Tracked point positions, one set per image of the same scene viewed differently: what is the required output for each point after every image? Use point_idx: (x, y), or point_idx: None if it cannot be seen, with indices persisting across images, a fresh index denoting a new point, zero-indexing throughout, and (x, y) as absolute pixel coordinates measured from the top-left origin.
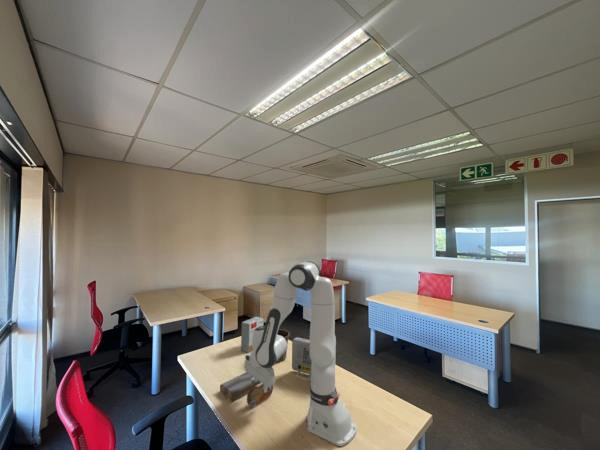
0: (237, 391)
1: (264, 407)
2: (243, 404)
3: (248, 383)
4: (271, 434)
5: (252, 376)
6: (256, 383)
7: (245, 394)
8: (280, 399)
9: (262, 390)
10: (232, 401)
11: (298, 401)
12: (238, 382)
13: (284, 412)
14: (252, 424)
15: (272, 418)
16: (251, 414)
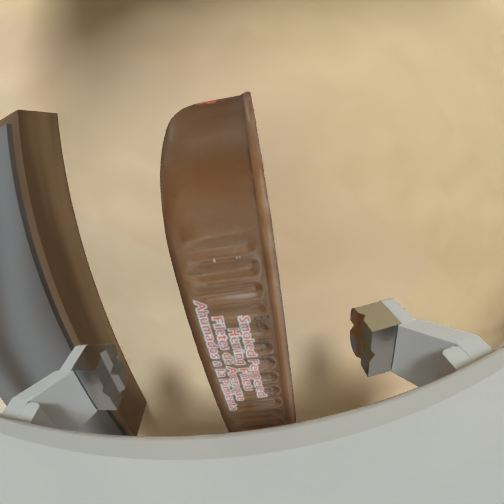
0: (109, 412)
1: (338, 264)
2: (199, 368)
3: (33, 306)
4: (489, 323)
5: (56, 414)
6: (42, 219)
7: (104, 320)
8: (346, 91)
9: (357, 356)
10: (144, 407)
11: (438, 23)
12: (9, 355)
13: (466, 175)
14: (391, 378)
15: (448, 271)
16: (327, 363)
